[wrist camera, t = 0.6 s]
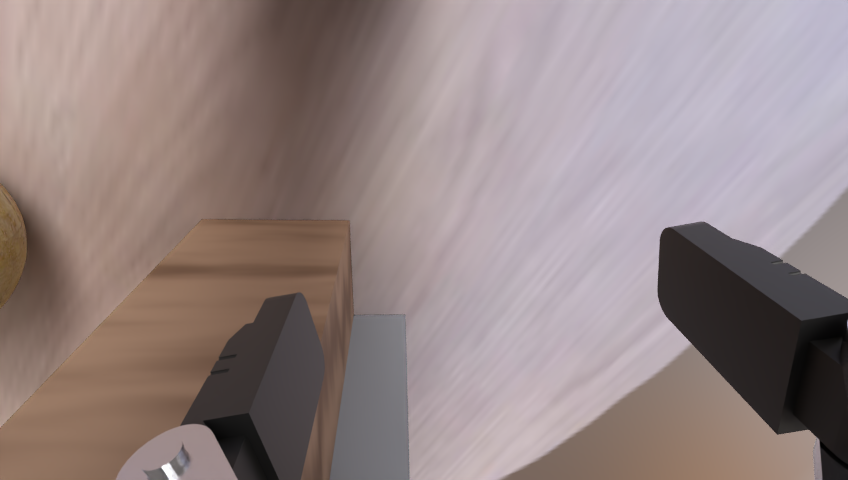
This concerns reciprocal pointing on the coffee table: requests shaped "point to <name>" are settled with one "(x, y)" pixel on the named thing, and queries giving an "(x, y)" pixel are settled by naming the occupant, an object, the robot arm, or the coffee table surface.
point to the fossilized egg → (10, 245)
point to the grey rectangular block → (374, 403)
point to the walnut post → (185, 348)
